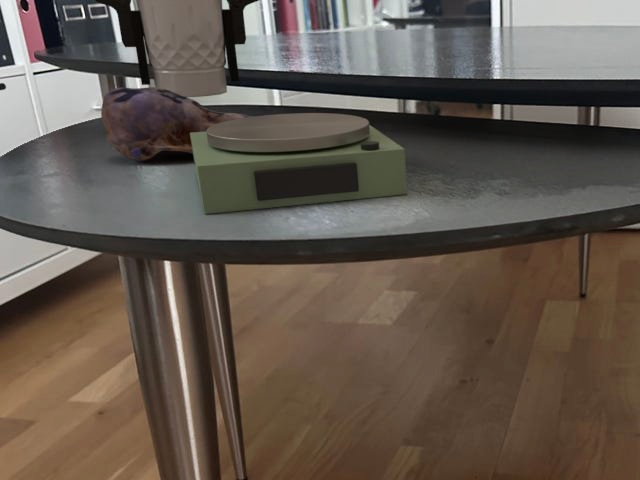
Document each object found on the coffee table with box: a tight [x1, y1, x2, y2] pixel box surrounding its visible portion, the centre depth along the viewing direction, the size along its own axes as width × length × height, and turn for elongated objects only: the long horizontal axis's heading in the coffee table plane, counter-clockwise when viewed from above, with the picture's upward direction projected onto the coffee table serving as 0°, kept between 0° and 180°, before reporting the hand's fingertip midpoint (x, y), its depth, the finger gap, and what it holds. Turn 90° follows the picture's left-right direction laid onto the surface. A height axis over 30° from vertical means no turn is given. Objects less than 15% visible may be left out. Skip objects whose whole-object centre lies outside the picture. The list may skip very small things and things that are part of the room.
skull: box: [100, 86, 252, 162], centre depth 69 cm, size 12×8×6 cm, turn 88°
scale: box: [190, 124, 408, 215], centre depth 59 cm, size 13×13×3 cm
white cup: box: [135, 0, 228, 98], centre depth 82 cm, size 8×8×10 cm
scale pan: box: [206, 112, 370, 152], centre depth 59 cm, size 11×11×1 cm
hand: (190, 81), depth 84 cm, fingers closed on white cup, 8 cm apart
